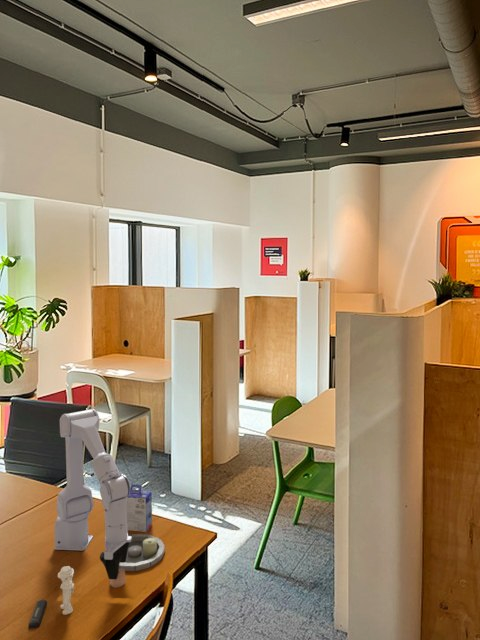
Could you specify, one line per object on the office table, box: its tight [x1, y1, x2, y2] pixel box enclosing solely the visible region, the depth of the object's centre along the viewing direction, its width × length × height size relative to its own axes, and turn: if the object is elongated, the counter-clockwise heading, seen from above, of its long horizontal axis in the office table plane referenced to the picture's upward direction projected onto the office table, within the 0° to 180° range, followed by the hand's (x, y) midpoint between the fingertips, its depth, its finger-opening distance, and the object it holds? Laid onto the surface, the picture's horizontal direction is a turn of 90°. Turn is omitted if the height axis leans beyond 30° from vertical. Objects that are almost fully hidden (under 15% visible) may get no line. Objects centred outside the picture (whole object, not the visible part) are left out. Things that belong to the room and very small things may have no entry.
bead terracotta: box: [109, 568, 126, 589], centre depth 142 cm, size 4×4×4 cm
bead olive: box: [143, 538, 157, 558], centre depth 156 cm, size 4×4×4 cm
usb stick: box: [28, 599, 48, 629], centre depth 131 cm, size 10×3×2 cm, turn 8°
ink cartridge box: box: [126, 484, 153, 533], centre depth 172 cm, size 10×6×14 cm, turn 79°
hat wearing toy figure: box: [57, 565, 75, 616], centre depth 133 cm, size 9×4×12 cm, turn 27°
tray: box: [119, 533, 166, 572], centre depth 156 cm, size 17×17×2 cm
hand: (117, 570), depth 142 cm, fingers open, 7 cm apart
